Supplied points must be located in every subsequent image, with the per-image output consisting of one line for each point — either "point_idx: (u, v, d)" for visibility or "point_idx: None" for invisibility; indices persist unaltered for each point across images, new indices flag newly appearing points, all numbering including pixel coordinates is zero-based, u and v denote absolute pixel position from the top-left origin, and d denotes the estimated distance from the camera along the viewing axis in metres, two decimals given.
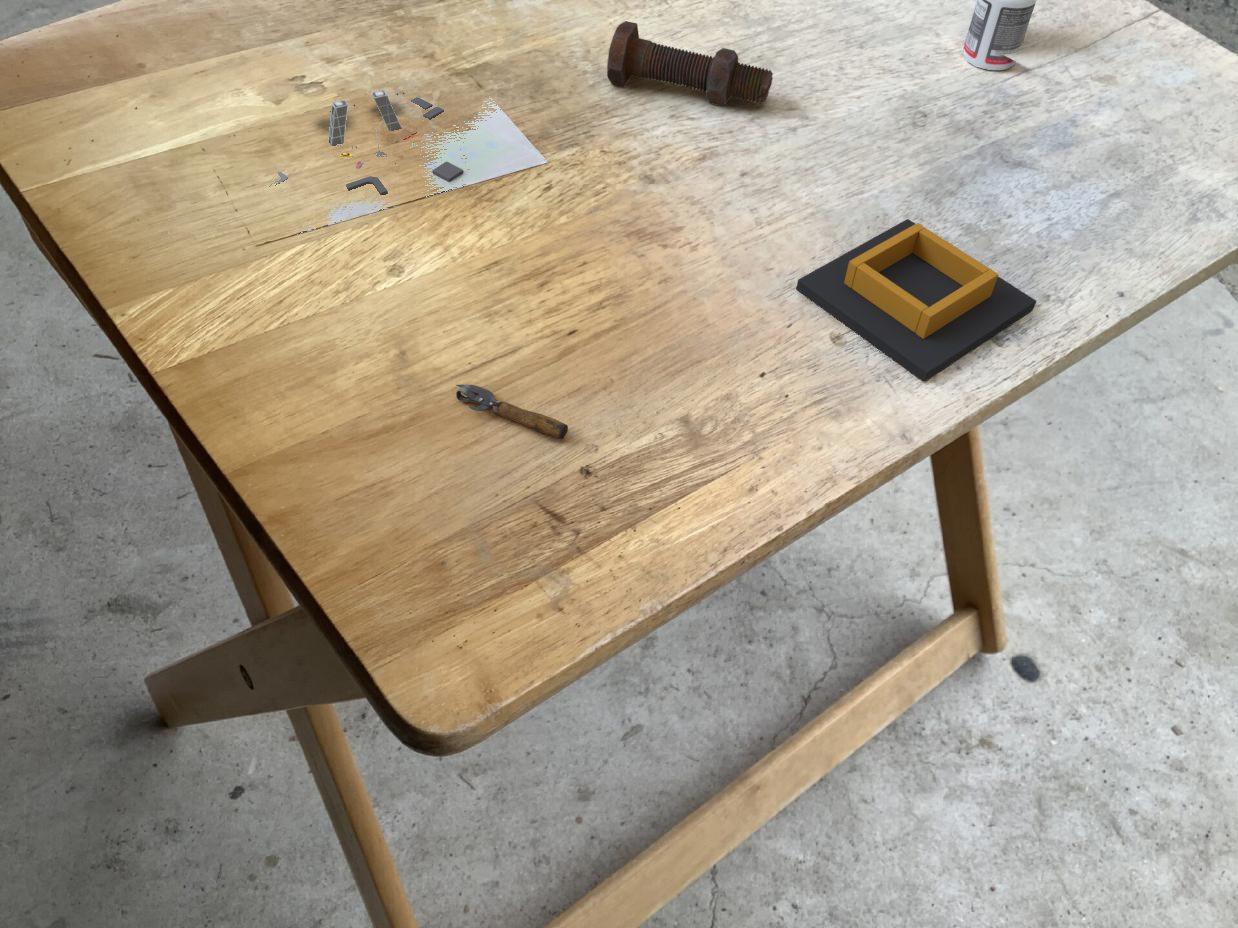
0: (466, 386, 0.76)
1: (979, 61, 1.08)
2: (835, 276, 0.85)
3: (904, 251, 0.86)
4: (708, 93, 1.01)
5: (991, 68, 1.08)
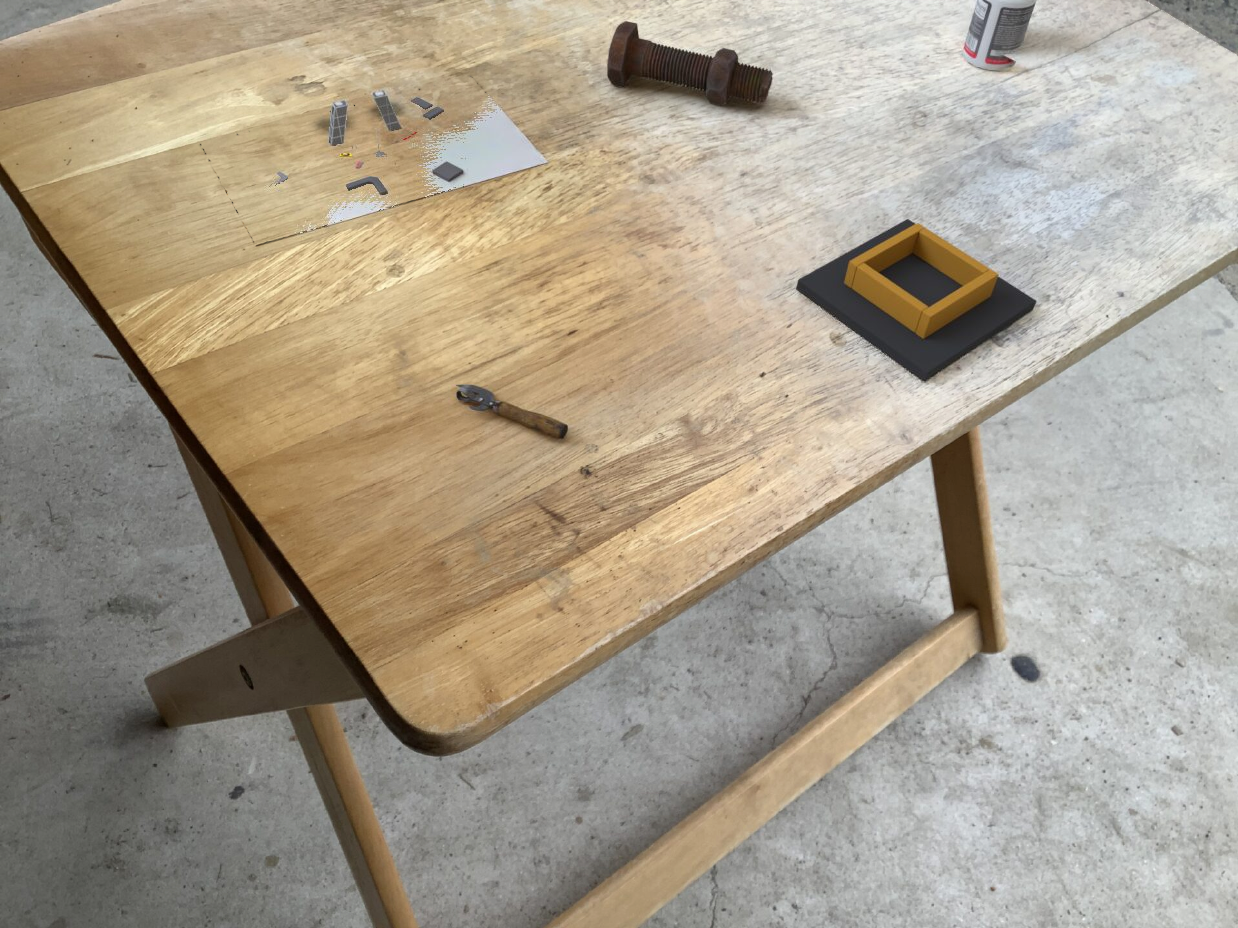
0: (466, 386, 0.76)
1: (979, 61, 1.08)
2: (835, 276, 0.85)
3: (904, 251, 0.86)
4: (708, 93, 1.01)
5: (991, 68, 1.08)
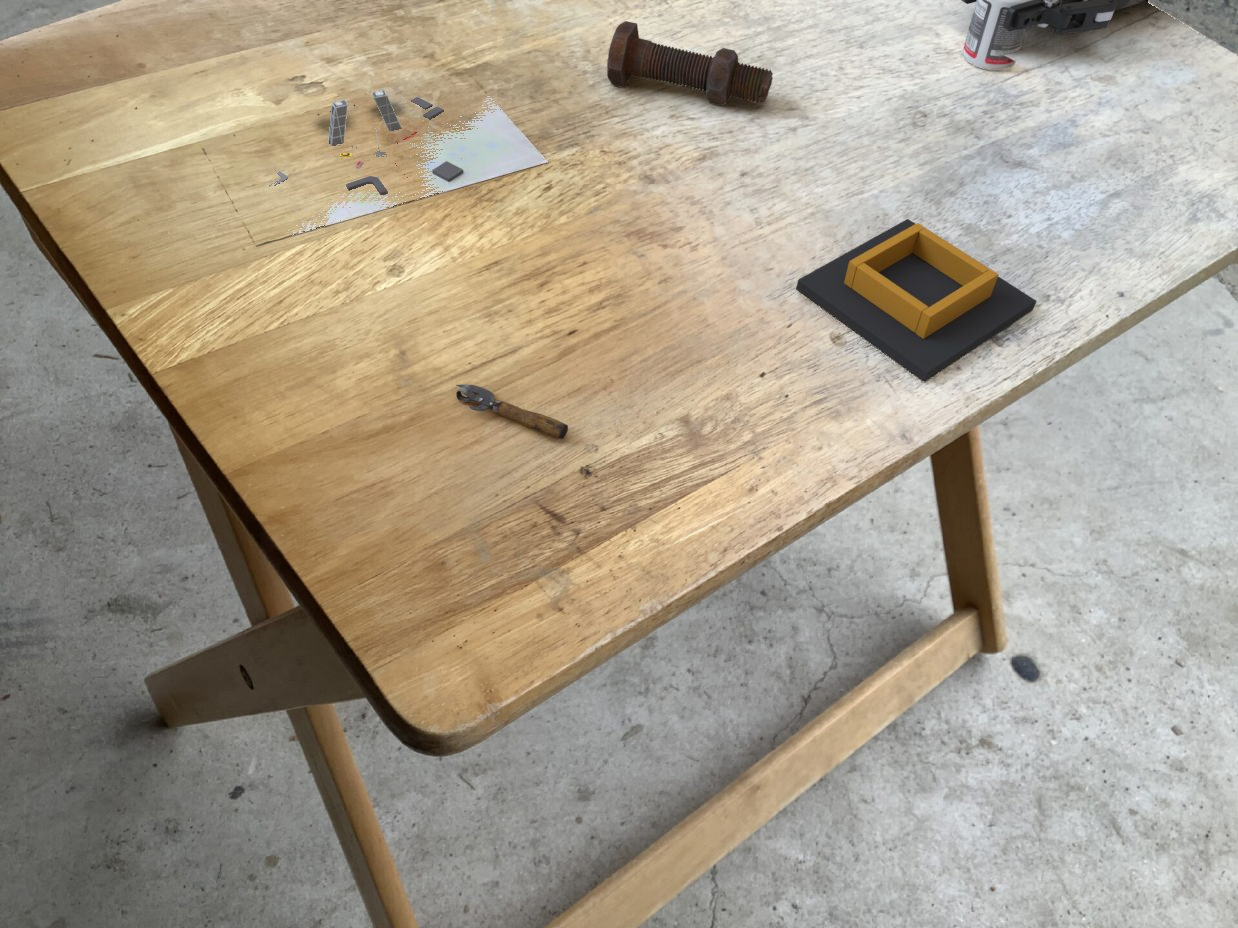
0: (466, 386, 0.76)
1: (979, 61, 1.08)
2: (835, 276, 0.85)
3: (904, 251, 0.86)
4: (708, 93, 1.01)
5: (991, 68, 1.08)
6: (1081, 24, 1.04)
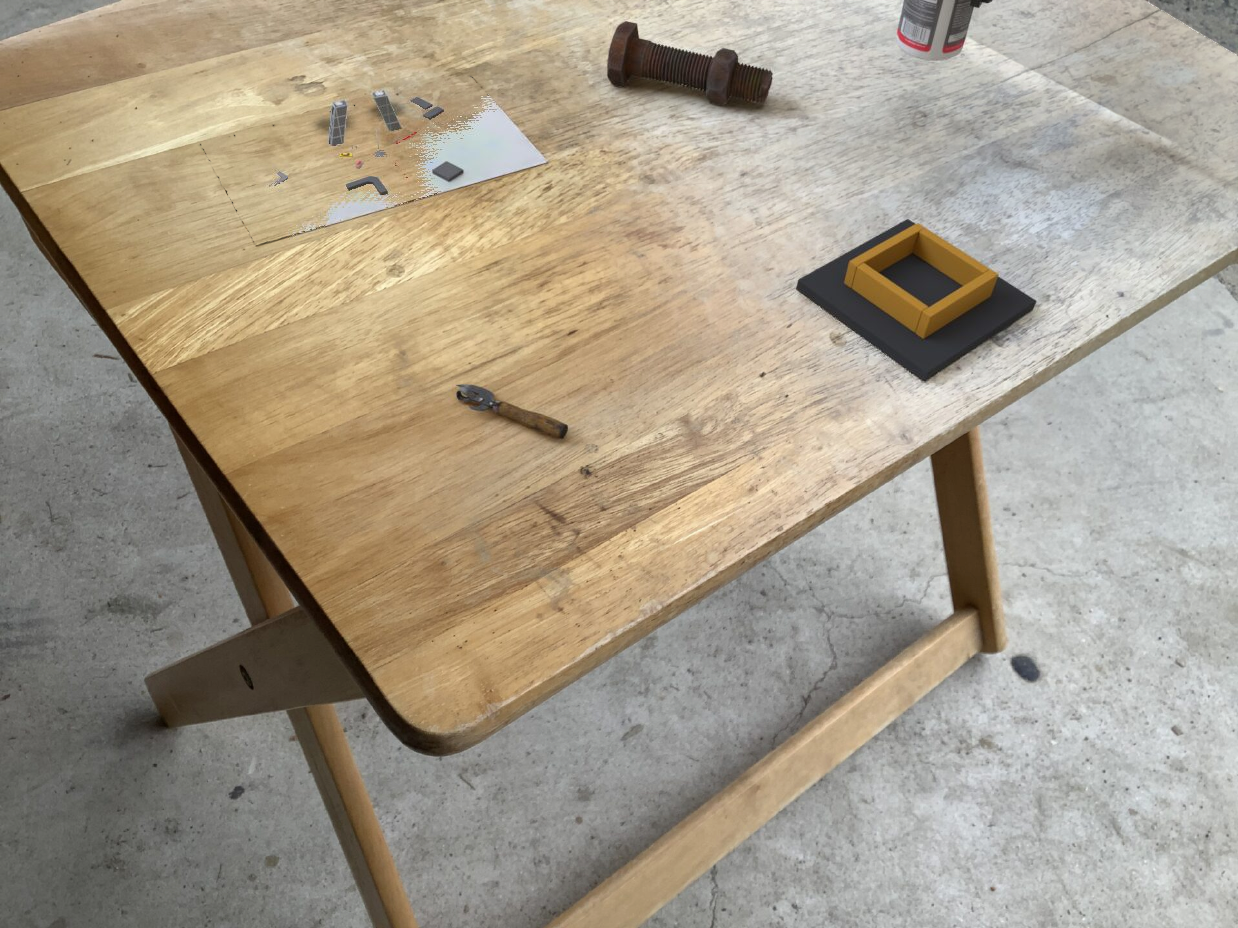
0: (466, 386, 0.76)
1: (934, 53, 0.85)
2: (835, 276, 0.85)
3: (904, 251, 0.86)
4: (708, 93, 1.01)
5: (949, 57, 0.86)
6: None
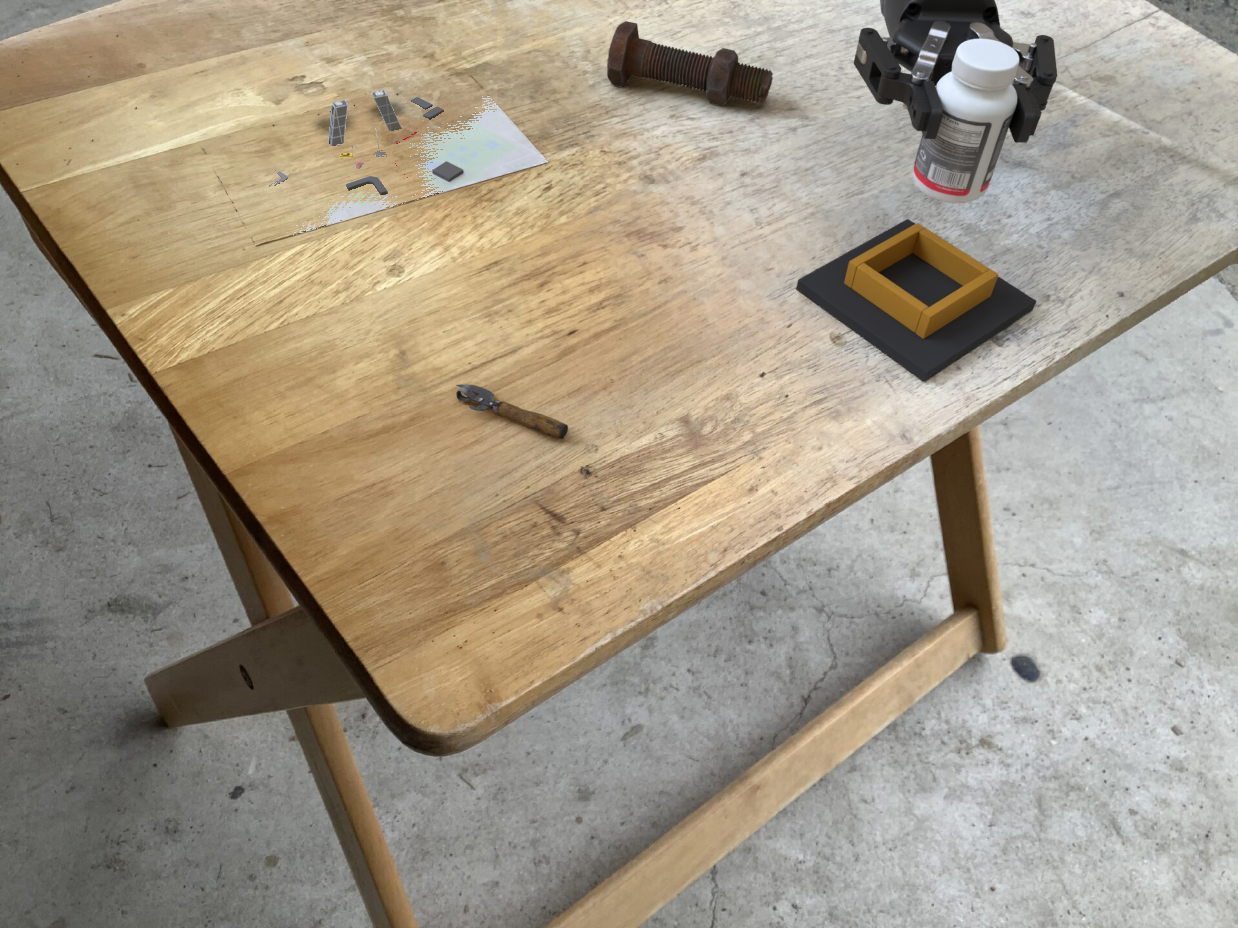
0: (466, 386, 0.76)
1: (973, 195, 0.75)
2: (835, 276, 0.85)
3: (904, 251, 0.86)
4: (708, 93, 1.01)
5: (983, 193, 0.76)
6: None
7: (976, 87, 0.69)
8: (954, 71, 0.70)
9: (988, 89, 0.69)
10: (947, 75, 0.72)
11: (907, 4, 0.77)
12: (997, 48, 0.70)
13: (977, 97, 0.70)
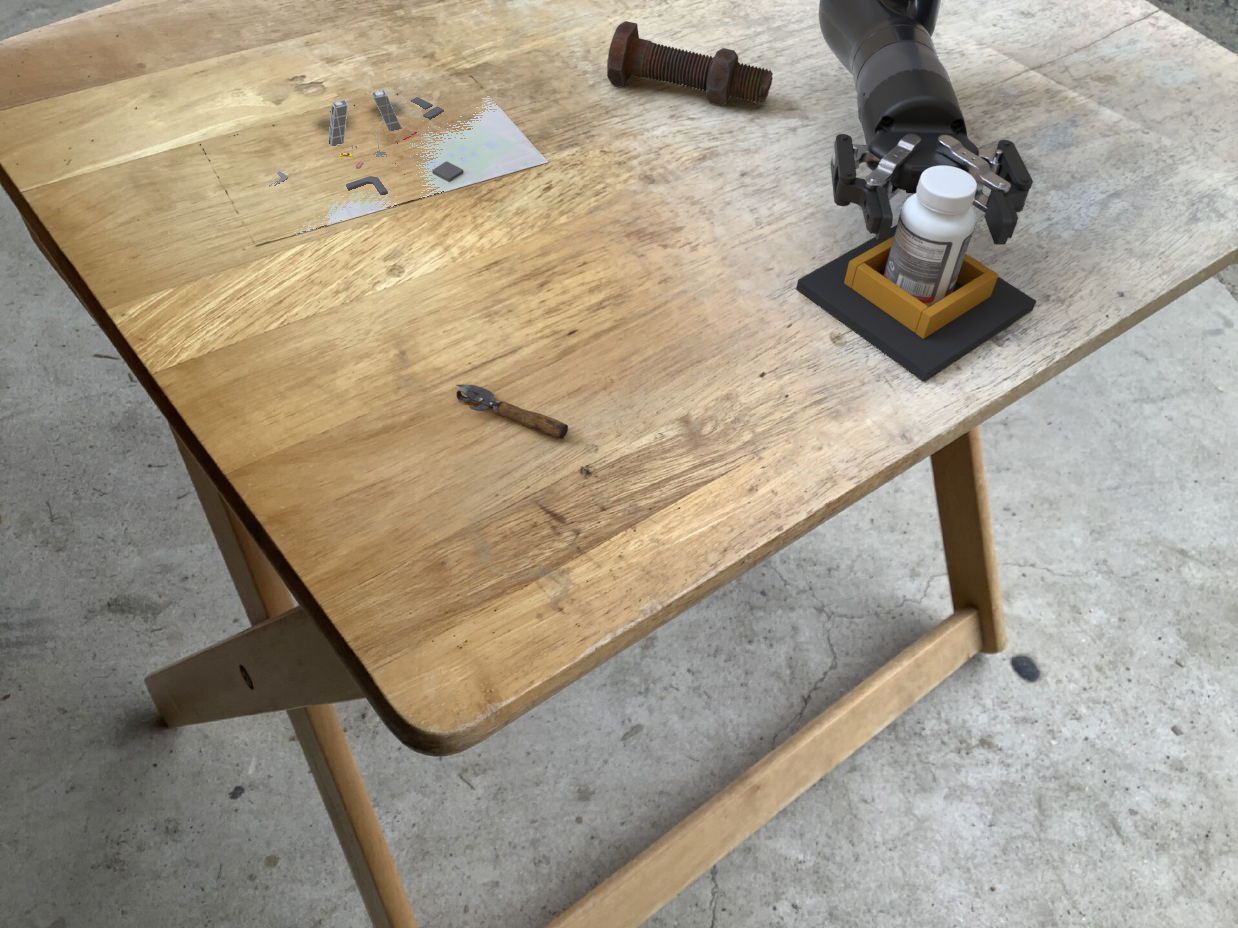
0: (466, 386, 0.76)
1: None
2: (835, 276, 0.85)
3: None
4: (708, 93, 1.01)
5: None
6: None
7: (938, 211, 0.77)
8: (918, 195, 0.77)
9: (948, 213, 0.77)
10: (913, 197, 0.79)
11: (881, 117, 0.84)
12: (957, 175, 0.77)
13: (939, 219, 0.77)
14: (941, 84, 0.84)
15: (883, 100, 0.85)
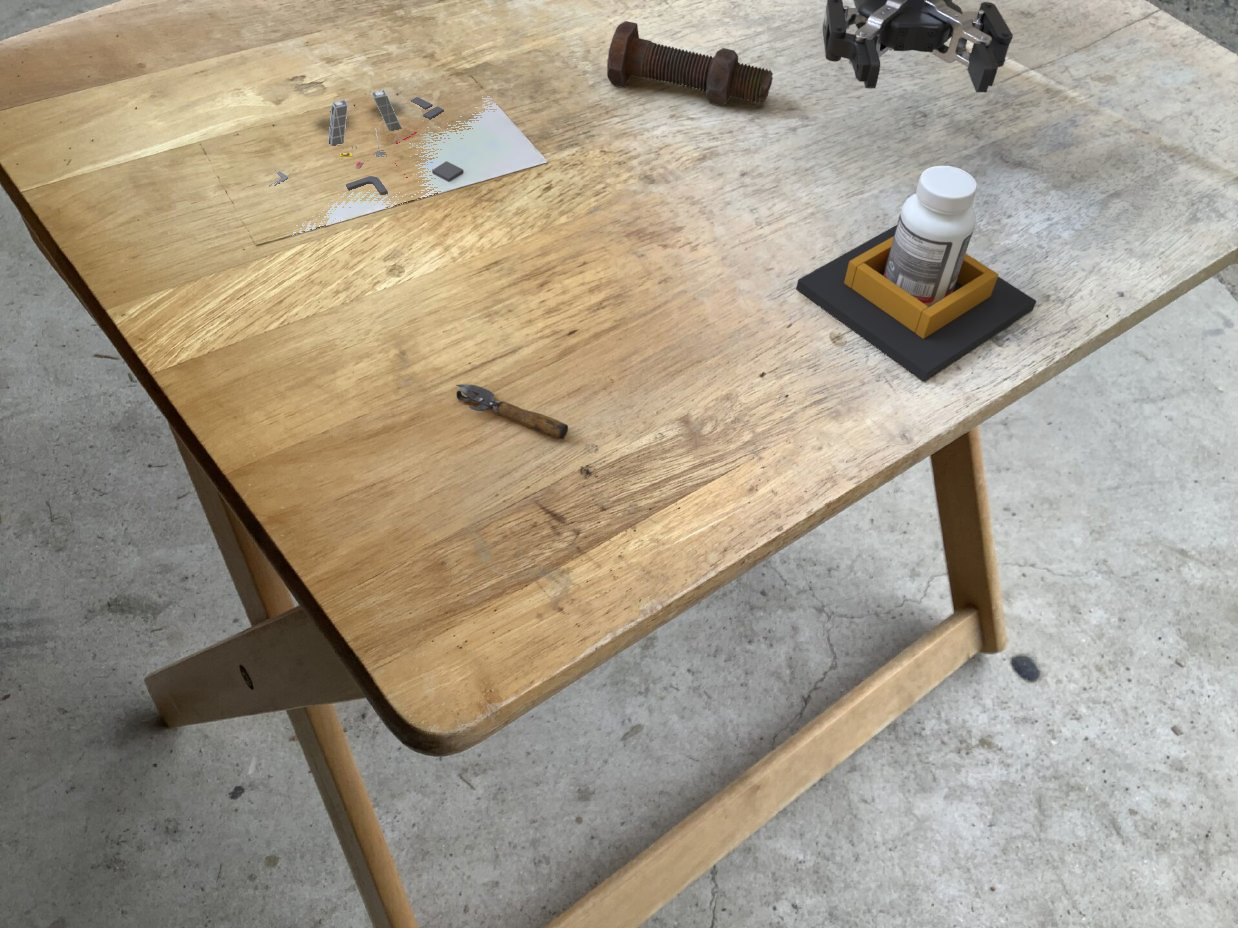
0: (466, 386, 0.76)
1: None
2: (835, 276, 0.85)
3: None
4: (708, 93, 1.01)
5: None
6: None
7: (938, 211, 0.77)
8: (918, 196, 0.77)
9: (948, 213, 0.77)
10: (913, 197, 0.79)
11: None
12: (957, 175, 0.77)
13: (939, 219, 0.77)
14: None
15: None
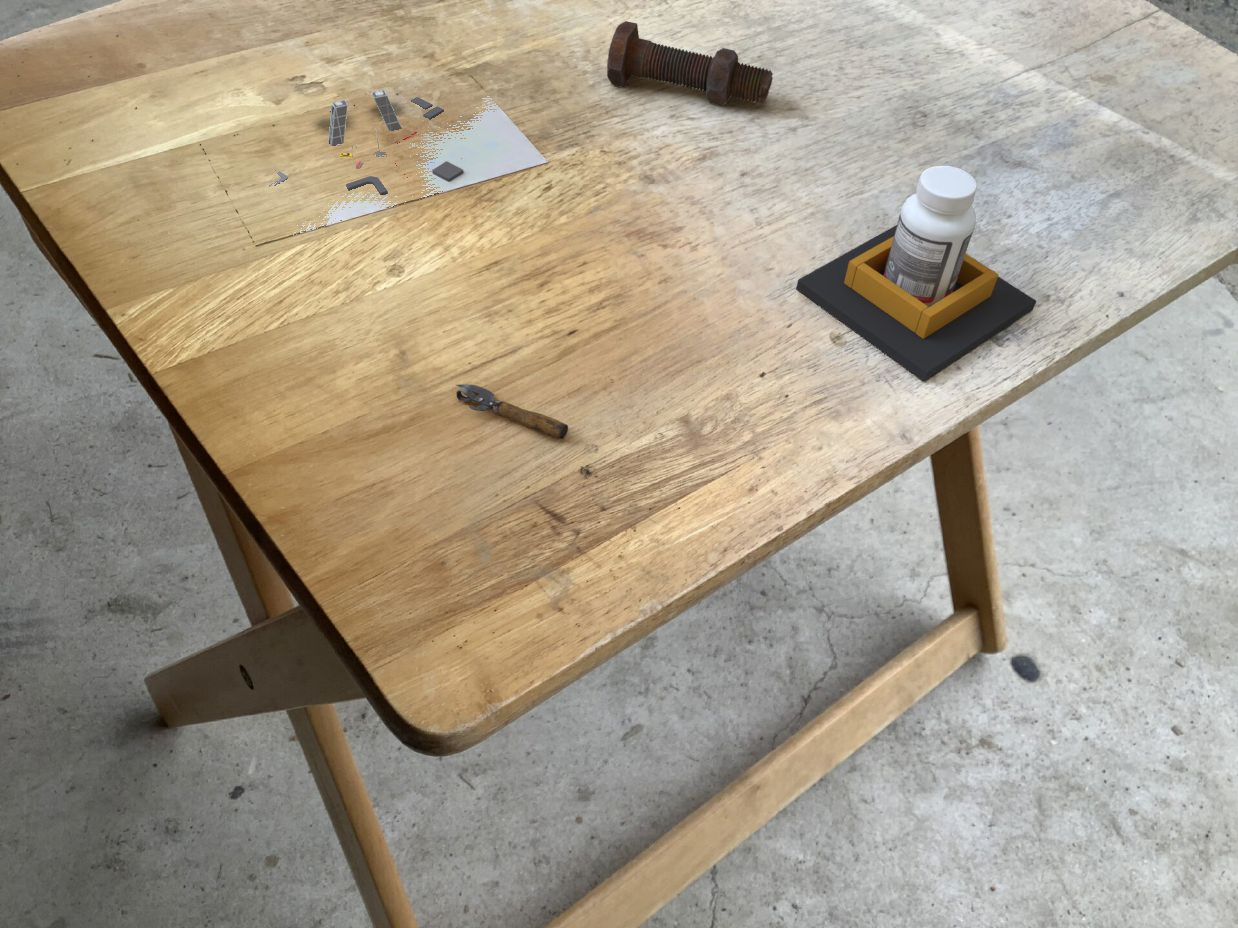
0: (466, 386, 0.76)
1: None
2: (835, 276, 0.85)
3: None
4: (708, 93, 1.01)
5: None
6: None
7: (938, 211, 0.77)
8: (918, 196, 0.77)
9: (948, 213, 0.77)
10: (913, 197, 0.79)
11: None
12: (957, 175, 0.77)
13: (939, 219, 0.77)
14: None
15: None
